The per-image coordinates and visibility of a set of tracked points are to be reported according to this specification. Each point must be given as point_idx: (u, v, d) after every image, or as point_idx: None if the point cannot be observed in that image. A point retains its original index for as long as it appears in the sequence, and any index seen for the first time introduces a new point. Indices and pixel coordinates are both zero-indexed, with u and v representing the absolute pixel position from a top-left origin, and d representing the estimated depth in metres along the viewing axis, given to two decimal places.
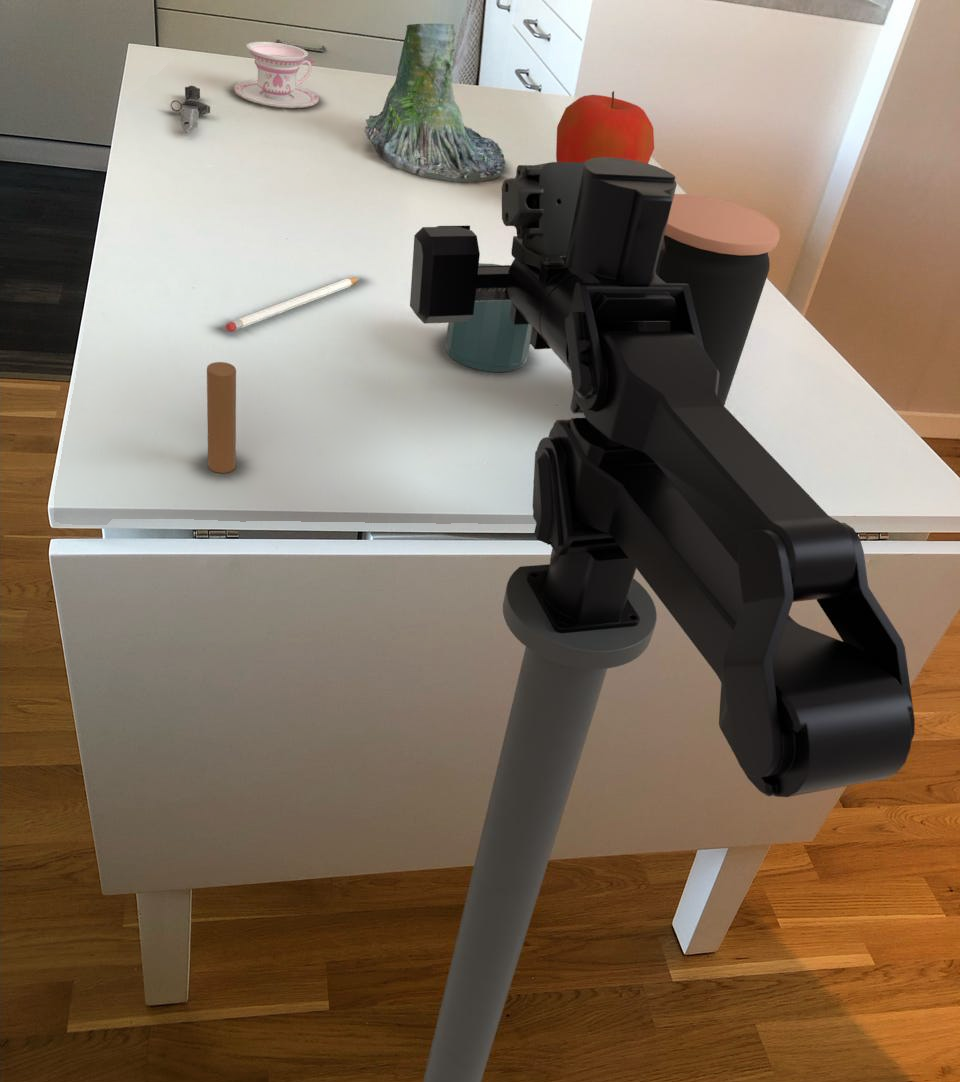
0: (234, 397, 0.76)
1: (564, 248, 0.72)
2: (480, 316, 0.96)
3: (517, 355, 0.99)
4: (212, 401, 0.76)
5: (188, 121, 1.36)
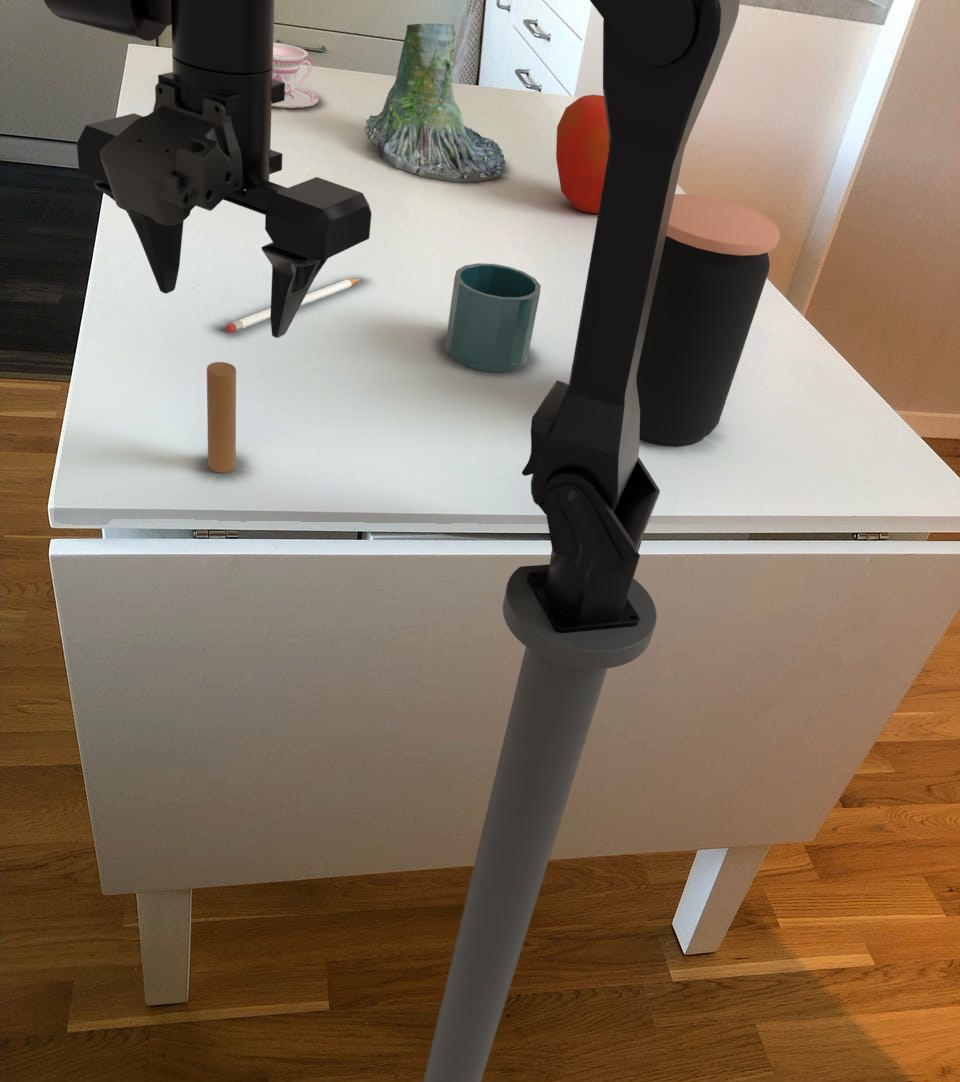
0: (234, 397, 0.76)
1: (192, 120, 0.62)
2: (480, 316, 0.96)
3: (517, 355, 0.99)
4: (212, 401, 0.76)
5: None
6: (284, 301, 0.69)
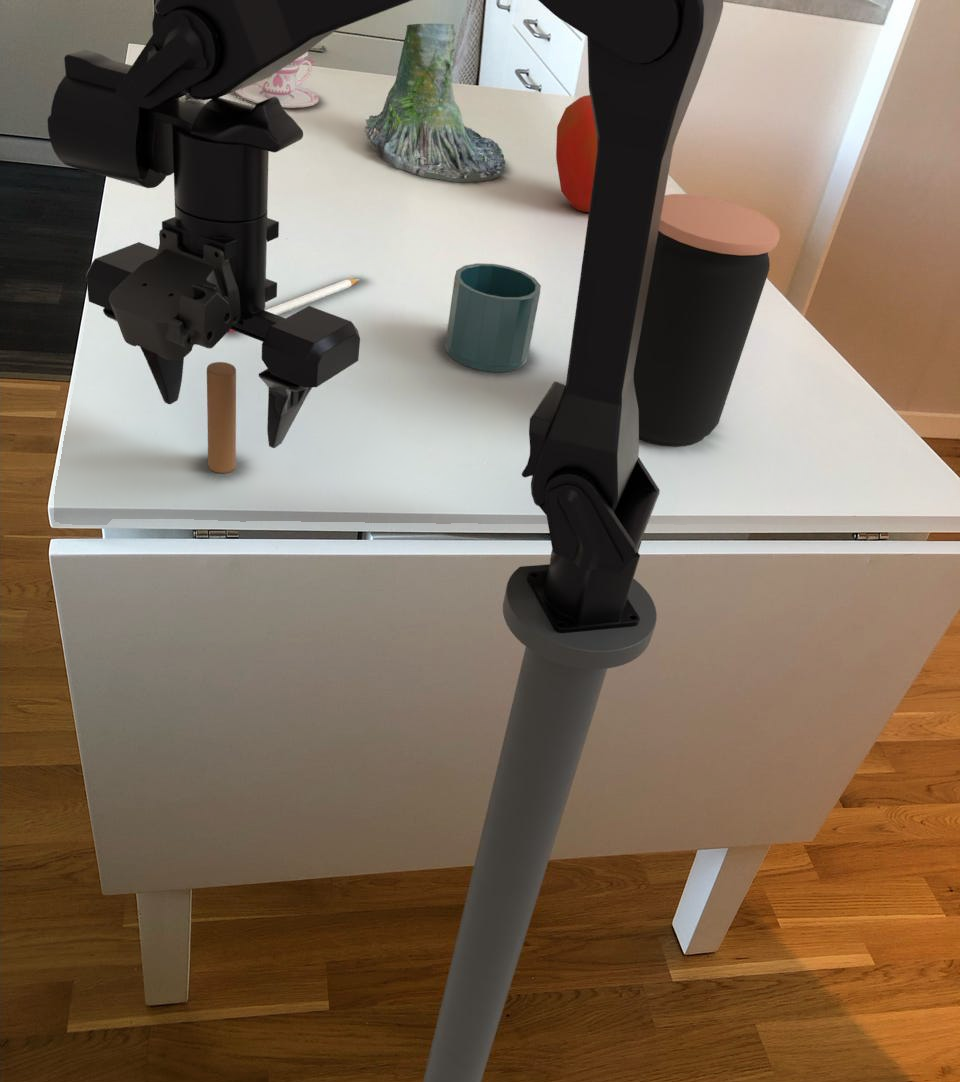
0: (234, 397, 0.76)
1: (193, 264, 0.67)
2: (480, 316, 0.96)
3: (517, 355, 0.99)
4: (212, 401, 0.76)
5: None
6: (280, 418, 0.74)
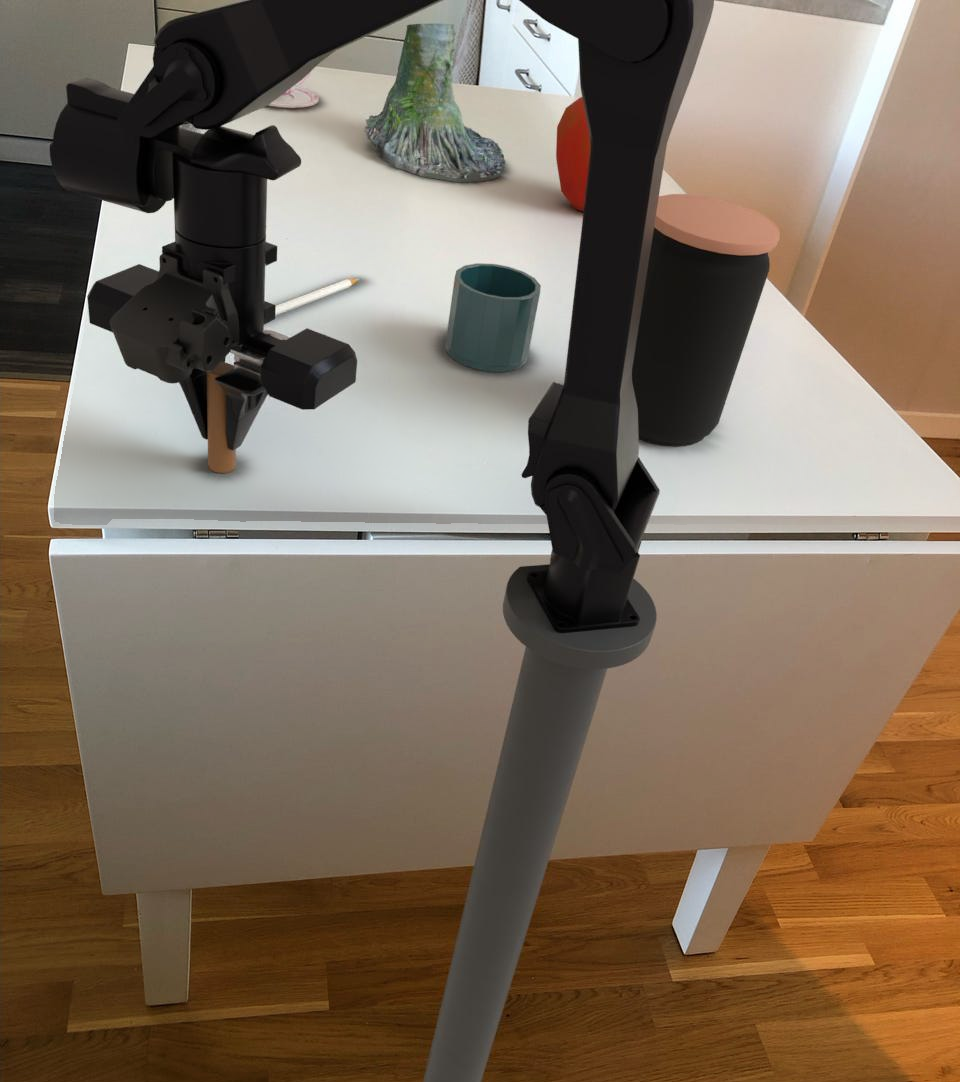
0: None
1: (193, 288, 0.68)
2: (480, 316, 0.96)
3: (517, 355, 0.99)
4: (212, 401, 0.76)
5: None
6: (237, 421, 0.76)
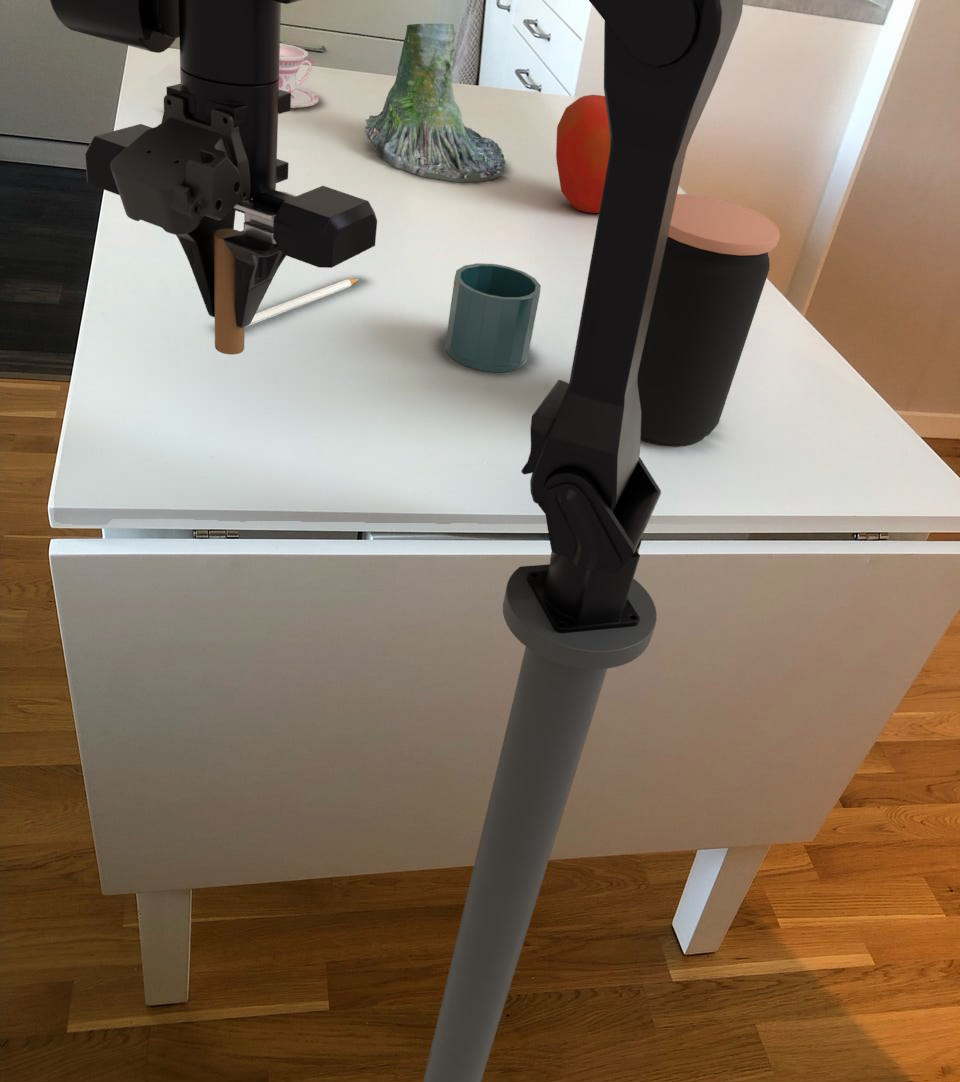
0: None
1: (200, 131, 0.63)
2: (480, 316, 0.96)
3: (517, 355, 0.99)
4: (220, 271, 0.71)
5: None
6: (247, 291, 0.70)
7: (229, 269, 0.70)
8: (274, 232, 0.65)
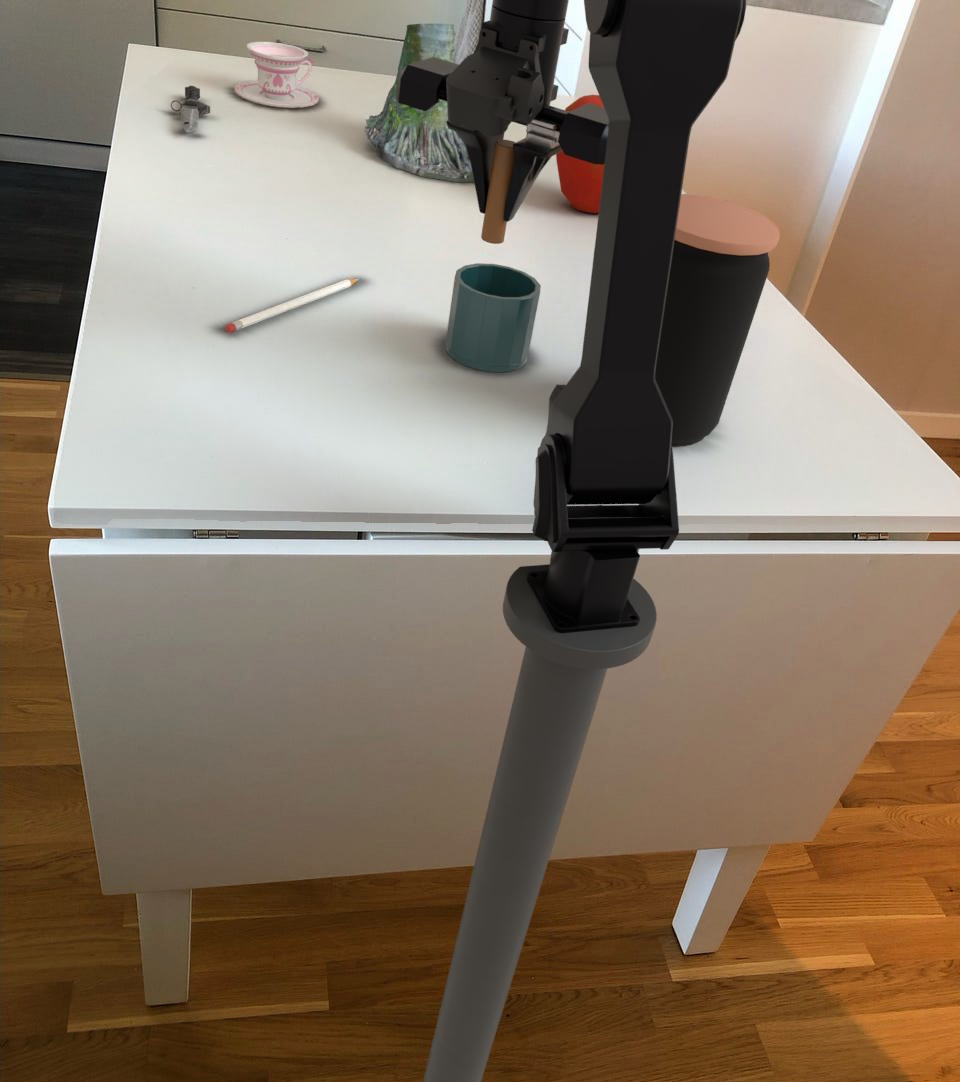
0: None
1: (509, 57, 0.81)
2: (480, 316, 0.96)
3: (517, 355, 0.99)
4: (497, 173, 0.89)
5: (188, 121, 1.36)
6: (520, 189, 0.89)
7: (505, 171, 0.89)
8: (559, 137, 0.83)
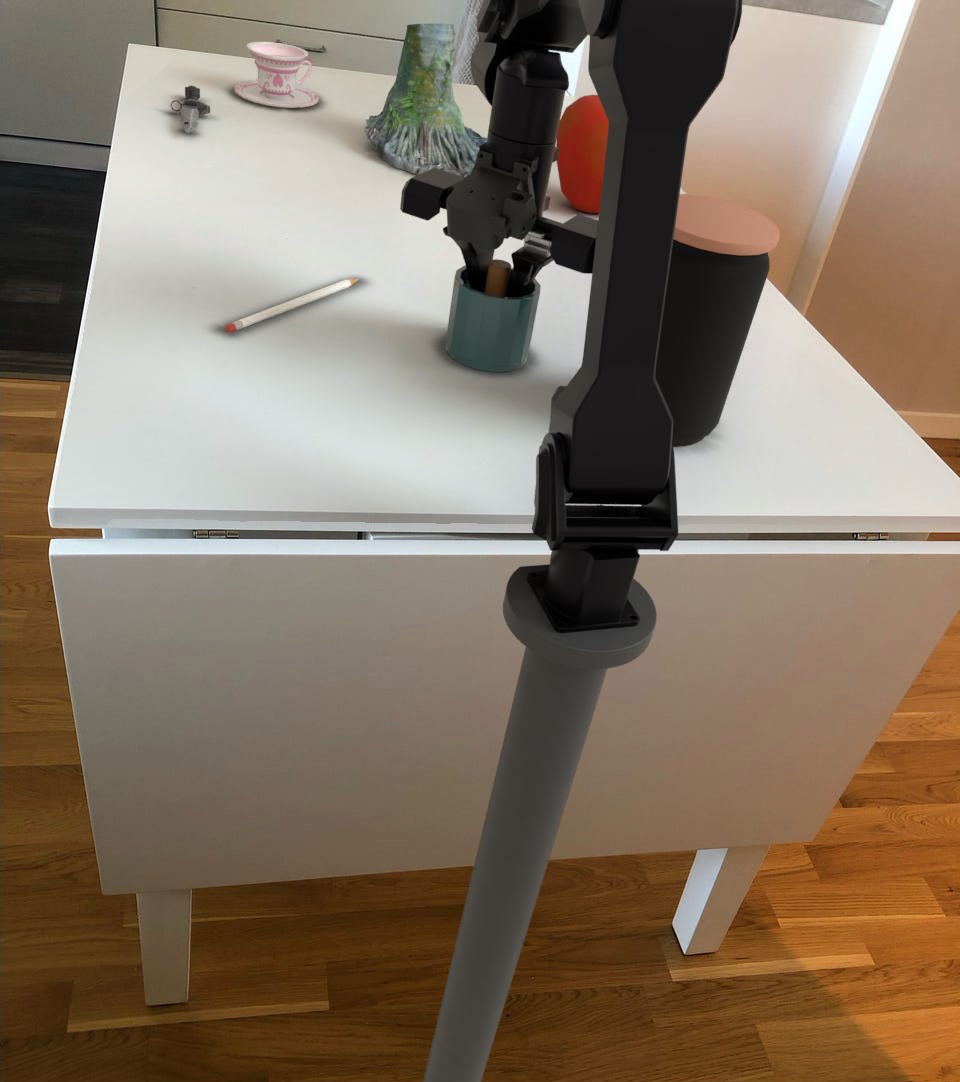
0: (507, 287, 0.97)
1: (504, 177, 0.88)
2: (480, 316, 0.96)
3: (517, 355, 0.99)
4: (491, 290, 0.97)
5: (188, 121, 1.36)
6: (518, 292, 0.96)
7: (498, 289, 0.97)
8: (551, 248, 0.90)
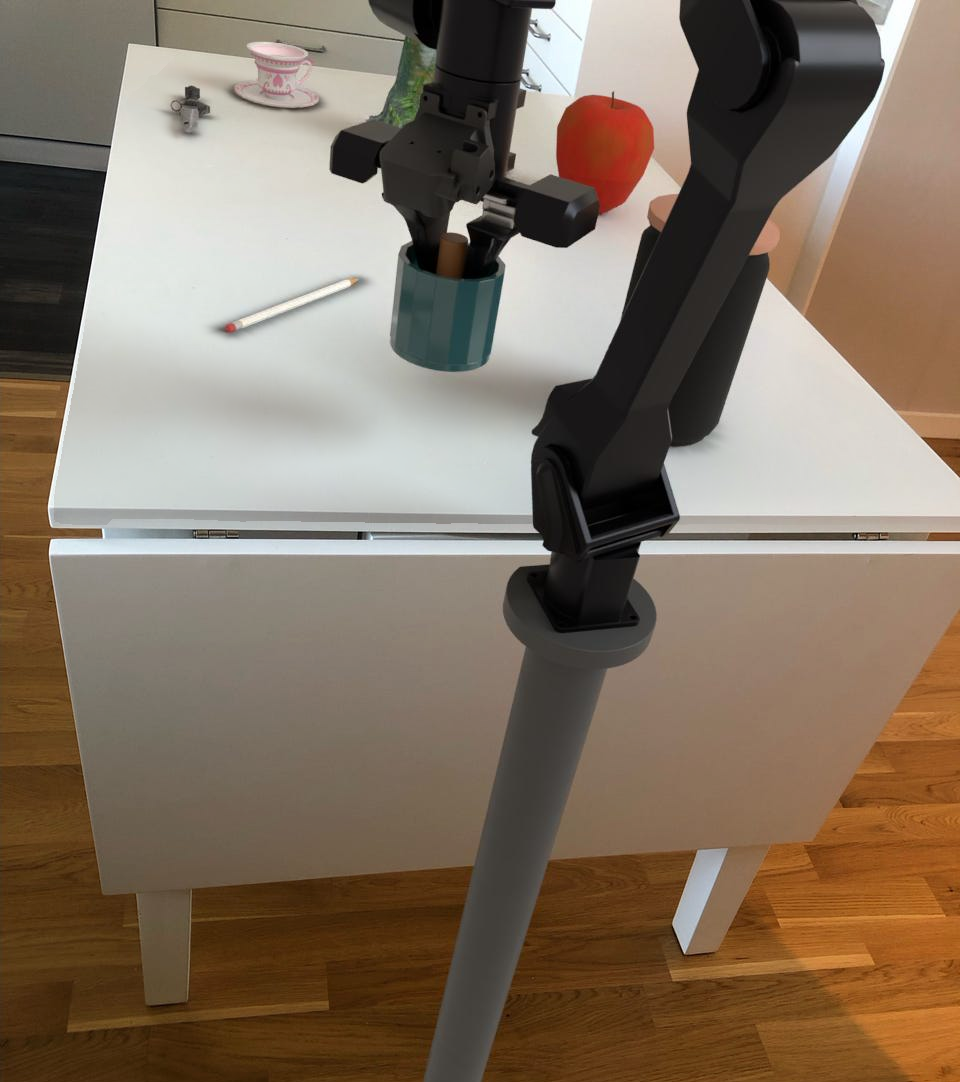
0: (463, 267, 0.79)
1: (455, 125, 0.69)
2: (429, 302, 0.77)
3: (477, 351, 0.80)
4: (443, 270, 0.78)
5: (188, 121, 1.36)
6: (477, 273, 0.77)
7: (452, 269, 0.78)
8: (515, 216, 0.71)
